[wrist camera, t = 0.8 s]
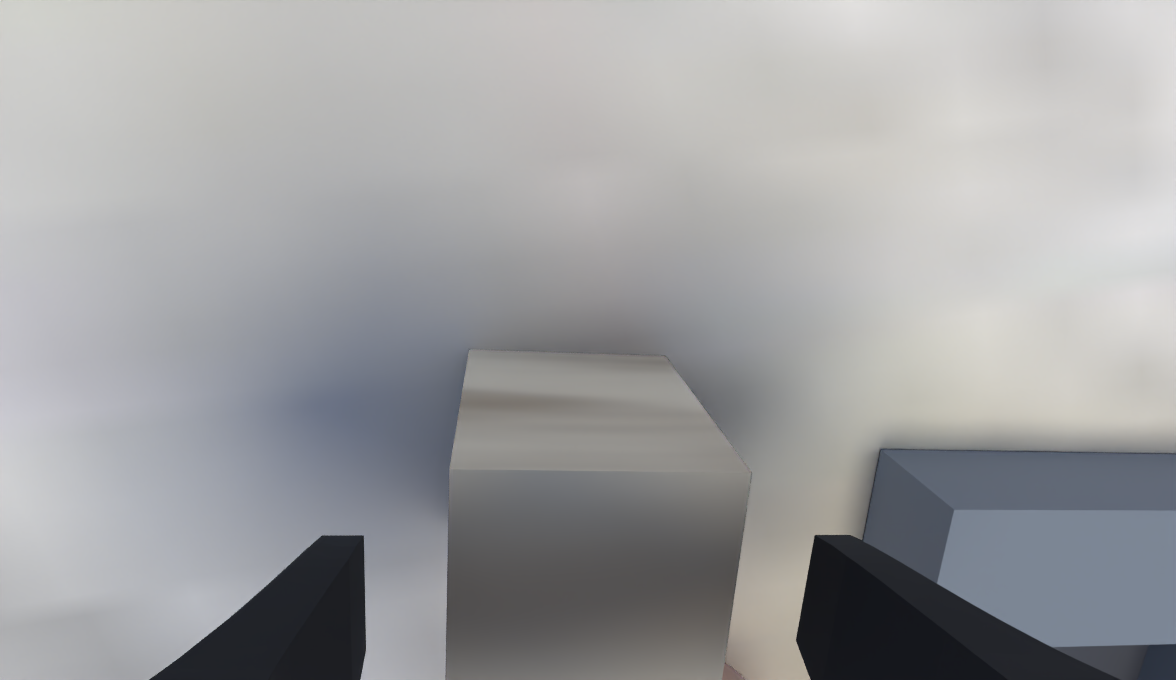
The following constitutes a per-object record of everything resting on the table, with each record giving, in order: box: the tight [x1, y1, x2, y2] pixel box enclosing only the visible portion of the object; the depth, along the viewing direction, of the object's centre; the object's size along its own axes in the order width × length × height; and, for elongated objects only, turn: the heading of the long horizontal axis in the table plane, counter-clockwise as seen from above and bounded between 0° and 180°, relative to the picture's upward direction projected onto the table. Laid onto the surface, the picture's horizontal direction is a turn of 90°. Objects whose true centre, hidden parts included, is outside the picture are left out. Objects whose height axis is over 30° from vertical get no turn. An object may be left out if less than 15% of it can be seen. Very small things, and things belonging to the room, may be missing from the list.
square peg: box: [446, 349, 752, 680], centre depth 14 cm, size 4×4×6 cm
